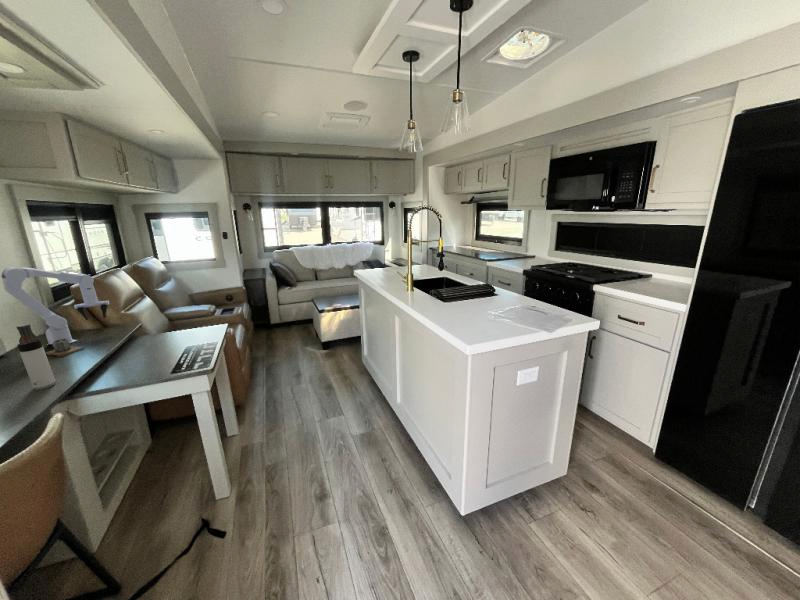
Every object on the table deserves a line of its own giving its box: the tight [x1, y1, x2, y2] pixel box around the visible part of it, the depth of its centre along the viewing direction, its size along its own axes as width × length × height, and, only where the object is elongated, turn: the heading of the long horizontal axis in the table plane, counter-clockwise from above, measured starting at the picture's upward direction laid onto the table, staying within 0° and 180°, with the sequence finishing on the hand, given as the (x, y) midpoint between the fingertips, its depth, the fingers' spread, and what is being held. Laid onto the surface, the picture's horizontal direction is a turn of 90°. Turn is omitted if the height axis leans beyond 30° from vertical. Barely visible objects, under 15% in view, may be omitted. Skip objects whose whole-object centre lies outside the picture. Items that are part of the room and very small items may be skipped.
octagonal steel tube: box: [52, 339, 72, 352], centre depth 162 cm, size 6×6×5 cm
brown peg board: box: [45, 341, 84, 357], centre depth 162 cm, size 12×9×6 cm
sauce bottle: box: [16, 323, 41, 344], centre depth 147 cm, size 6×6×20 cm
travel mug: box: [16, 339, 57, 391], centre depth 129 cm, size 6×7×20 cm
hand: (96, 318), depth 184 cm, fingers open, 7 cm apart
